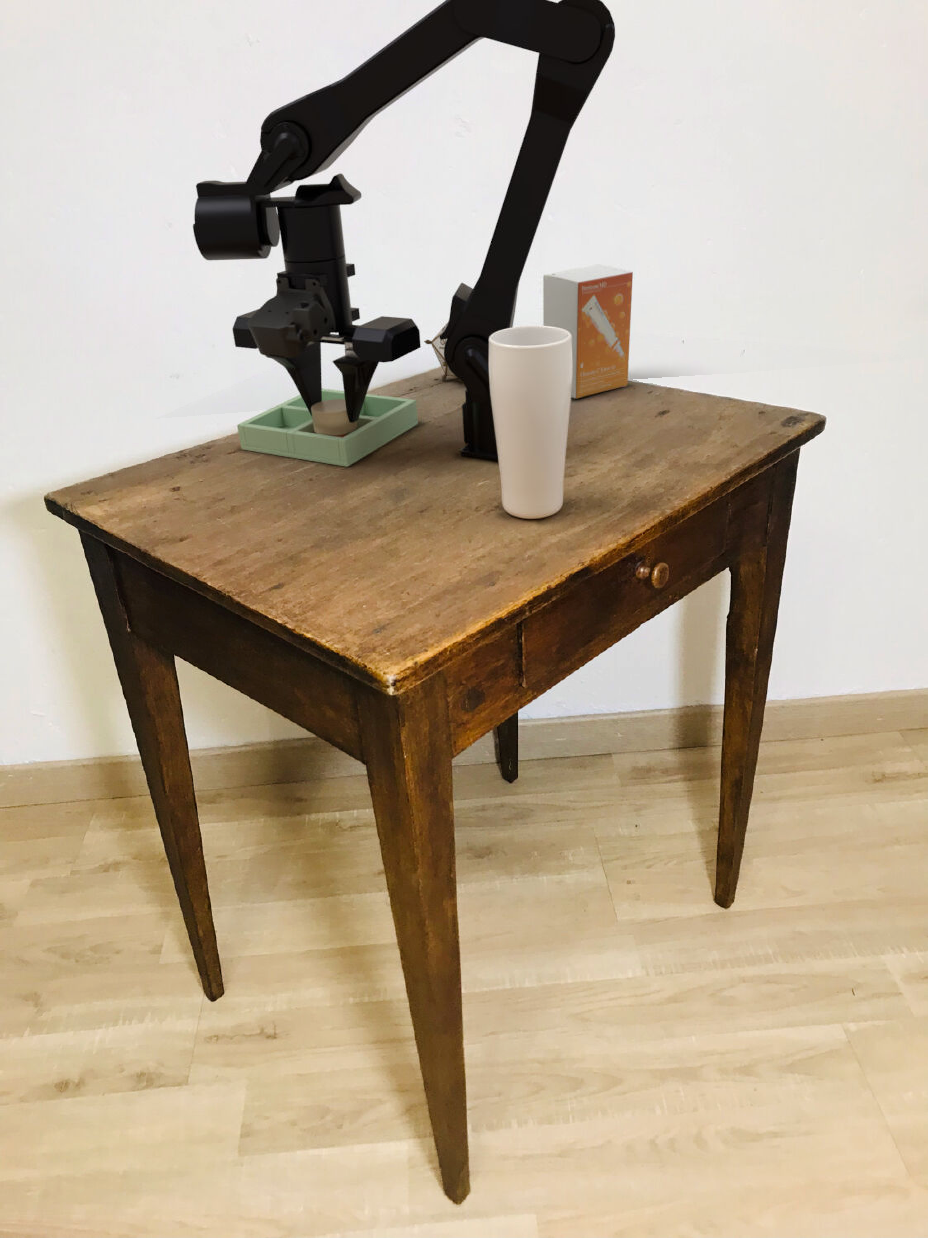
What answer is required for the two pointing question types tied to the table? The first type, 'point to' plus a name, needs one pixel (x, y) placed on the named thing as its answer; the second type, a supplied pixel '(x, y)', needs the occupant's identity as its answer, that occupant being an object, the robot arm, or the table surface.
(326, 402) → the cylinder
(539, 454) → the drinking glass
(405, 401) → the grid
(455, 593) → the table surface
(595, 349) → the small box
